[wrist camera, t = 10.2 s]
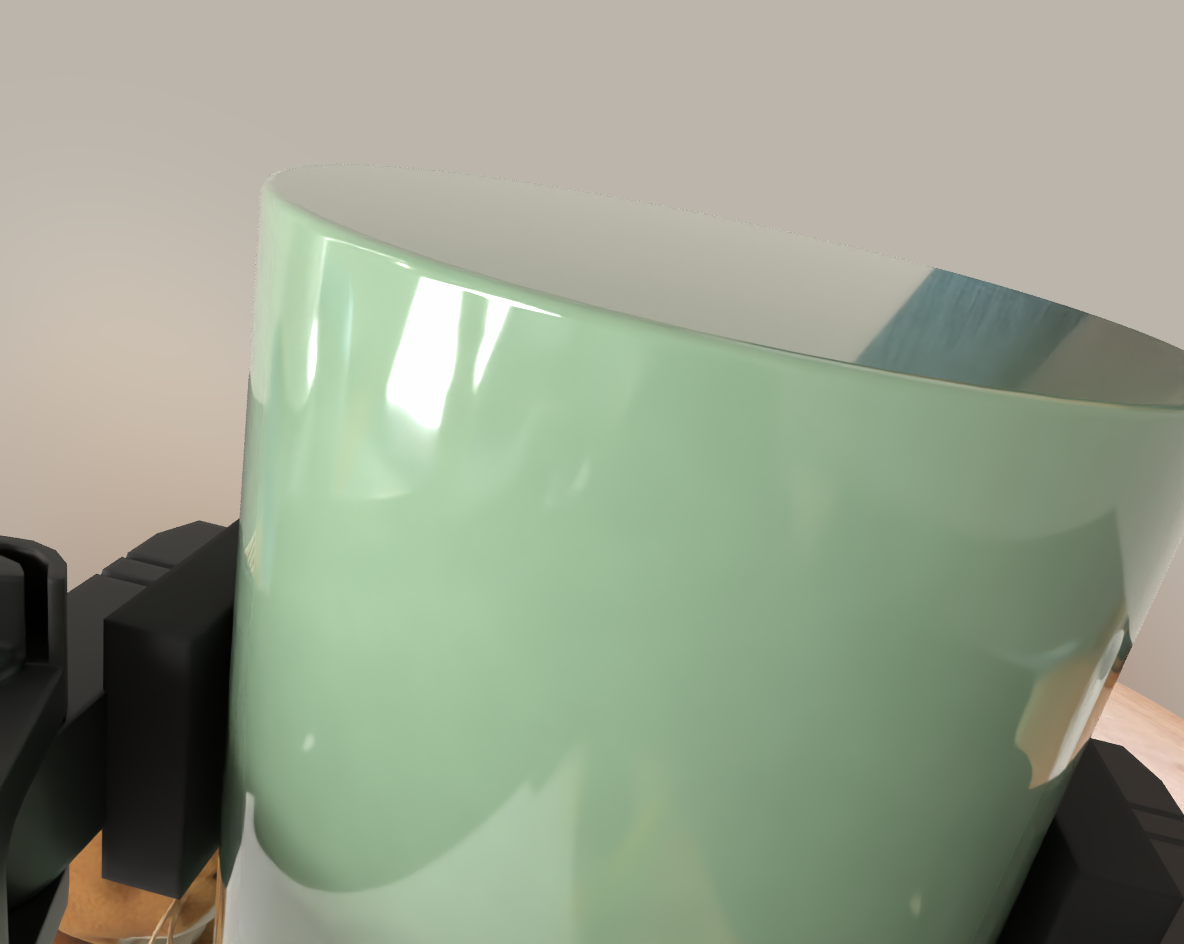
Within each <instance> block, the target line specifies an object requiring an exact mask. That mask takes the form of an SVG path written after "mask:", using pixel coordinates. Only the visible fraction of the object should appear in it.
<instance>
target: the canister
mask: <svg viewBox="0 0 1184 944" xmlns="http://www.w3.org/2000/svg"><path fill="white" fill-rule="evenodd" d="M258 223H259V224H258V236H257V253H256V269H255V284H254V300H253V317H252V331H251V347H250V363H249V379H248V394H247V411H246V427H245V442H244V459H243V473H242V490H241V506H240V521H239V537H238V552H237V568H236V584H235V600H234V616H233V631H232V647H231V663H230V679H229V695H228V710H227V726H226V742H225V758H224V774H223V790H222V805H221V821H220V837H219V853H218V869H217V884H216V900H215V916H214V932H213V944H996V943H997V941H998V938H999V936H1000V934H1001V932H1002V930H1003V928H1004V925H1005V923H1006V921H1007V919H1008V917H1009V914H1010V912H1011V910H1012V908H1013V906H1014V904H1015V901H1016V899H1017V897H1018V895H1019V893H1020V890H1021V888H1022V886H1023V884H1024V882H1025V879H1026V877H1027V875H1028V873H1029V871H1030V869H1031V866H1032V864H1033V862H1034V860H1035V858H1036V855H1037V853H1038V851H1039V849H1040V847H1041V845H1042V842H1043V840H1044V838H1045V836H1046V834H1047V831H1048V829H1049V827H1050V825H1051V823H1052V821H1053V818H1054V816H1055V814H1056V812H1057V810H1058V807H1059V805H1060V803H1061V801H1062V799H1063V796H1064V794H1065V792H1066V790H1067V788H1068V786H1069V783H1070V781H1071V779H1072V777H1073V775H1074V772H1075V770H1076V768H1077V766H1078V764H1079V762H1080V759H1081V757H1082V755H1083V753H1084V751H1085V748H1086V746H1087V744H1088V742H1089V740H1090V738H1091V735H1092V733H1093V731H1094V729H1095V727H1096V724H1097V722H1098V720H1099V718H1100V716H1101V713H1102V711H1103V709H1104V707H1105V705H1106V703H1107V700H1108V698H1109V696H1110V694H1111V692H1112V689H1113V687H1114V685H1115V683H1116V681H1117V678H1118V676H1119V674H1120V672H1121V670H1122V668H1123V665H1124V663H1125V661H1126V659H1127V657H1128V654H1129V652H1130V650H1131V648H1132V646H1133V644H1134V641H1135V639H1136V637H1137V635H1138V633H1139V630H1140V628H1141V626H1142V624H1143V622H1144V620H1145V617H1146V615H1147V613H1148V611H1149V609H1150V606H1151V604H1152V602H1153V600H1154V598H1155V595H1156V593H1157V591H1158V589H1159V587H1160V585H1161V582H1162V580H1163V578H1164V576H1165V574H1166V571H1167V569H1168V567H1169V565H1170V563H1171V560H1172V558H1173V556H1174V554H1175V552H1176V550H1177V547H1178V545H1179V543H1180V541H1181V539H1182V537H1183V534H1184V350H1182V349H1179V348H1177V347H1175V346H1173V345H1171V344H1168V343H1166V342H1164V341H1161V340H1159V339H1156V338H1154V337H1151V336H1149V335H1146V334H1144V333H1141V332H1139V331H1136V330H1134V329H1131V328H1128V327H1126V326H1123V325H1120V324H1117V323H1114V322H1112V321H1109V320H1106V319H1103V318H1101V317H1098V316H1095V315H1091V314H1088V313H1086V312H1083V311H1080V310H1077V309H1074V308H1071V307H1068V306H1065V305H1061V304H1058V303H1055V302H1052V301H1048V300H1045V299H1042V298H1039V297H1036V296H1033V295H1029V294H1026V293H1023V292H1019V291H1016V290H1013V289H1009V288H1005V287H1002V286H999V285H995V284H992V283H989V282H985V281H981V280H978V279H974V278H970V277H967V276H963V275H960V274H956V273H953V272H949V271H945V270H942V269H938V268H934V267H930V266H927V265H923V264H919V263H915V262H911V261H908V260H904V259H899V258H896V257H891V256H888V255H884V254H880V253H876V252H872V251H867V250H863V249H860V248H855V247H851V246H847V245H843V244H839V243H835V242H831V241H826V240H822V239H818V238H813V237H809V236H805V235H800V234H796V233H792V232H787V231H783V230H778V229H774V228H769V227H764V226H760V225H755V224H750V223H746V222H741V221H736V220H732V219H727V218H722V217H717V216H713V215H708V214H703V213H698V212H693V211H688V210H682V209H678V208H672V207H667V206H662V205H657V204H652V203H646V202H641V201H636V200H630V199H624V198H618V197H613V196H608V195H602V194H596V193H590V192H584V191H578V190H572V189H567V188H560V187H554V186H548V185H541V184H535V183H528V182H521V181H514V180H507V179H500V178H493V177H486V176H477V175H470V174H461V173H453V172H444V171H435V170H425V169H414V168H402V167H390V166H370V165H313V166H303V167H298V168H292V169H287V170H282V171H280V172H277V173H275V174H273V175H270V176H269V177H268V179H267V181H266V183H265V184H264V186H263V188H262V190H261V192H260V206H259V221H258Z"/></svg>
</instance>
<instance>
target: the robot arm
mask: <svg viewBox="0 0 1184 944" xmlns="http://www.w3.org/2000/svg"><path fill="white" fill-rule="evenodd" d="M239 521H240V518H239V519H238V520H237V521H235V522H234V523H233V524H231V525H230V526H229V527H223V526H219V525H215V524H211V523H207V522H203V521H196V522H193V523H190V524H186V525H183V526H180V527H176V528H173V529H170V530H167V531H164V532H160V533H157V534H156V535H154V536H153V537H151V538H150V539H148V540H147V541H145V542H144V543H142V544H141V545H139V546H138V547H136V548H135V549H133V550H132V551H130V552H129V553H128V554H127V557H126V558H124V557H121V558H119V559H118V560H116V561H115V562H113V563H112V564H110V565H109V566H107V567H106V568H104V569H103V571H102V574H101V575H99V574H95V575H94V576H93V577H91V578H89V579H88V580H86V581H85V582H83V583H82V584H80V585H79V586H77V587H76V588H74V589H73V590H71V591H70V592H68V593H67V564H66V562H65V561H64V560H63V559H62V557H61V556H60V555H59V554H58V553H57V551H56V550H53V549H51V548H49V547H47V546H44V545H42V544H39V543H37V542H35V541H32V540H25V539H20V538H13V537H7V536H0V944H53V942H54V939H55V936H56V934H57V931H58V928H59V926H60V923H61V920H62V918H63V915H64V913H65V910H66V907H67V904H68V894H69V884H70V877H69V864H70V863H71V862H72V861H73V860H74V858H75V857H76V856H77V855H78V854H79V853H80V852H81V851H82V850H83V849H84V848H85V847H86V846H87V845H88V844H89V842H90V841H91V840H92V839H93V838H94V837H95V836H96V835H97V834H98V833H99V832H100V831H101V830H102V878H103V879H107V880H110V881H114V882H117V883H121V884H124V885H128V886H132V887H135V888H139V889H142V890H146V891H149V892H153V893H156V894H160V895H164V896H167V897H171V898H174V899H178V900H180V899H181V898H182V896H183V895H184V894H185V892H186V891H187V890H188V888H189V887H190V886H191V884H192V883H193V882H194V880H195V879H196V878H197V876H198V875H199V874H200V872H201V871H202V870H203V868H204V867H205V865H206V864H207V863H208V861H209V860H210V859H211V857H212V856H213V855H214V853H215V852H216V851H217V849H218V848H219V837H220V821H221V805H222V790H223V774H224V758H225V742H226V726H227V710H228V695H229V679H230V663H231V647H232V631H233V616H234V600H235V584H236V568H237V552H238V537H239ZM996 944H1184V814H1183V813H1182V811H1181V810H1180V808H1179V807H1178V805H1177V804H1176V802H1175V801H1174V799H1173V798H1172V796H1171V794H1170V793H1169V791H1168V790H1167V788H1166V787H1165V785H1164V784H1163V782H1162V781H1161V780H1160V779H1159V778H1158V777H1157V776H1156V775H1154V774H1153V773H1152V772H1151V771H1150V770H1149V769H1148V768H1147V767H1145V766H1144V765H1143V764H1142V763H1141V762H1140V761H1139V760H1138V759H1137V758H1135V757H1134V756H1133V755H1132V754H1131V753H1130V752H1129V751H1128V750H1126V749H1125V748H1124V747H1123V746H1120V745H1116V744H1112V743H1108V742H1104V741H1100V740H1096V739H1092V738H1090V740H1089V742H1088V744H1087V746H1086V748H1085V751H1084V753H1083V755H1082V757H1081V759H1080V762H1079V764H1078V766H1077V768H1076V770H1075V772H1074V775H1073V777H1072V779H1071V781H1070V783H1069V786H1068V788H1067V790H1066V792H1065V794H1064V796H1063V799H1062V801H1061V803H1060V805H1059V807H1058V810H1057V812H1056V814H1055V816H1054V818H1053V821H1052V823H1051V825H1050V827H1049V829H1048V831H1047V834H1046V836H1045V838H1044V840H1043V842H1042V845H1041V847H1040V849H1039V851H1038V853H1037V855H1036V858H1035V860H1034V862H1033V864H1032V866H1031V869H1030V871H1029V873H1028V875H1027V877H1026V879H1025V882H1024V884H1023V886H1022V888H1021V890H1020V893H1019V895H1018V897H1017V899H1016V901H1015V904H1014V906H1013V908H1012V910H1011V912H1010V914H1009V917H1008V919H1007V921H1006V923H1005V925H1004V928H1003V930H1002V932H1001V934H1000V936H999V938H998V941H997V943H996Z"/></svg>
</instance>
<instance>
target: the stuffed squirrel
mask: <svg viewBox="0 0 1184 944" xmlns="http://www.w3.org/2000/svg"><path fill="white" fill-rule="evenodd" d="M218 853H219V848H218V849H217V851H216V852H215V853H214V855H213V856H212V857H211V859H210V860H209V861H208V863H207V864H206V865H205V867H204V868H203V870H202V871H201V872H200V874H199V875H198V876H197V878H196V879H195V880H194V882H193V883H192V884H191V886H190V887H189V888H188V890H187V891H186V892H185V894H184V895H183V896H182V898H181V899H180V900H178V899H174V898H171V897H167V896H164V895H160V894H156V893H153V892H149V891H146V890H142V889H139V888H135V887H132V886H128V885H124V884H121V883H117V882H114V881H110V880H107V879H103V878H102V830H101V831H100V832H99V833H98V834H97V835H96V836H95V837H94V838H93V839H92V840H91V841H90V842H89V844H88V845H87V846H86V847H85V848H84V849H83V850H82V851H81V852H80V853H79V854H78V855H77V856H76V857H75V858H74V860H73V861H72V862H71V863H70V864H69V877H70V884H69V894H68V904H67V907H66V910H65V913H64V915H63V918H62V920H61V923H60V926H59V928H58V931H57V934H56V936H55V939H54V942H53V944H213V932H214V916H215V900H216V884H217V869H218Z"/></svg>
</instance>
